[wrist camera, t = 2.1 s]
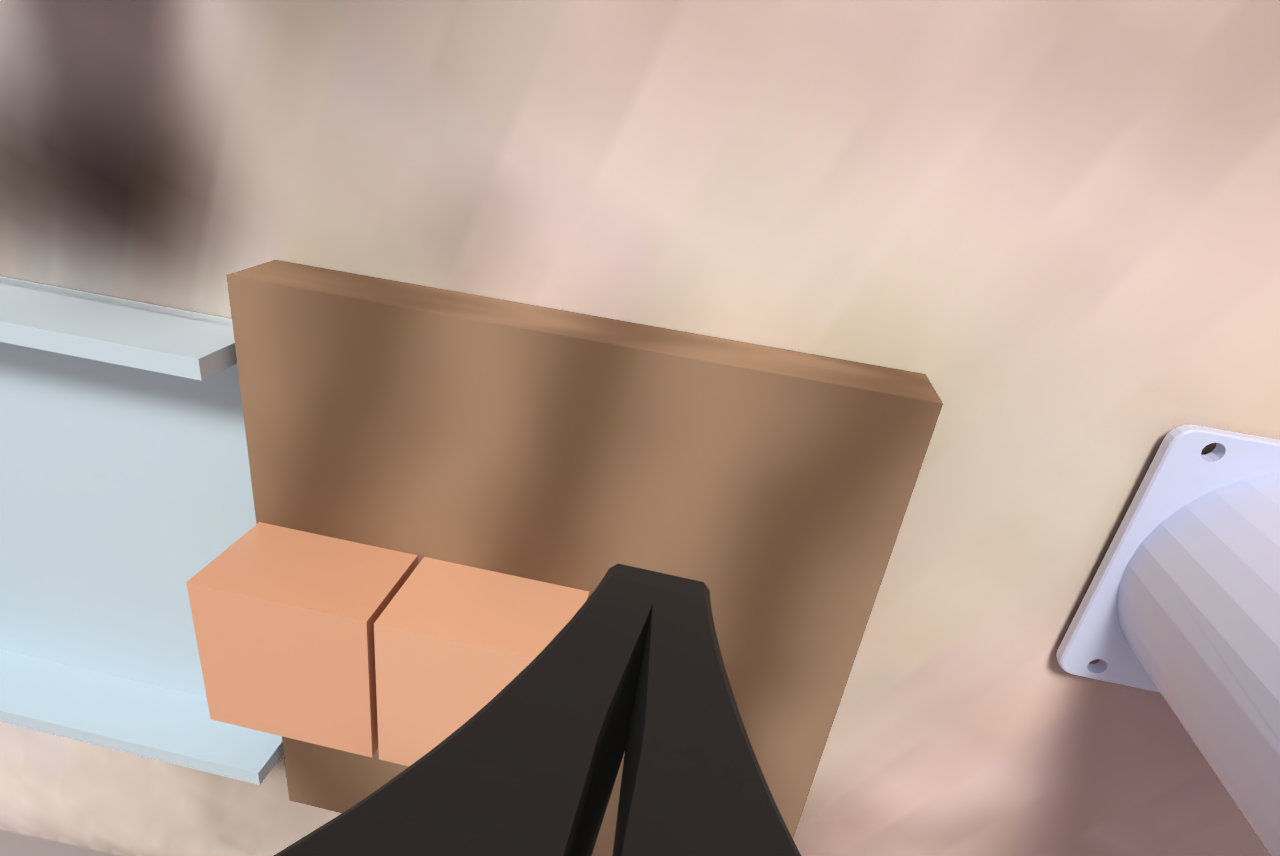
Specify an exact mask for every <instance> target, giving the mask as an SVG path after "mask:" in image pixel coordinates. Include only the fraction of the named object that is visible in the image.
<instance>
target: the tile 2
mask: <svg viewBox="0 0 1280 856" xmlns="http://www.w3.org/2000/svg"><path fill="white" fill-rule="evenodd" d="M588 598H589V591H584V590H579V589H575V588H570V587H565V586H560V585H556V584H551V583H546V582H541V581H537V580H532V579H527V578H522V577H518V576H513V575H508V574H503V573H499V572H494V571H489V570H484V569H480V568H475V567H470V566H465V565H461V564H456V563H451V562H446V561H442V560H437V559H432V558H427V557H424V558H423V559H422V560H421V562H420V563H419V564H418V566H417V567H416V568H415V570H414V571H413V572H412V574H411V575H410V576H409V578H408V579H407V580H406V582H405V583H404V584H403V586H402V587H401V588H400V590H399V591H398V592H397V593H396V595H395V596H394V597H393V599H392V600H391V601H390V603H389V604H388V605H387V607H386V608H385V609H384V611H383V612H382V613H381V615H380V616H379V617H378V619H377V620H376V621H375V623H374V643H375V669H376V696H377V722H378V749H379V759H380V760H384V761H388V762H392V763H396V764H401V765H405V766H411V765H412V764H413V763H415V762H416V761H417V760H419V759H420V758H421V757H423V756H424V755H426V754H427V753H428V752H429V751H431V750H432V749H433V748H435V747H436V746H437V745H438V744H440V743H441V742H442V741H443V740H445V739H446V738H447V737H448V736H450V735H451V734H452V733H453V732H455V731H456V730H457V729H458V728H460V727H461V726H462V725H463V724H464V723H465V722H467V721H468V720H469V719H470V718H471V717H473V716H474V715H475V714H476V713H477V712H478V711H479V710H481V709H482V708H483V707H484V706H485V705H486V704H488V703H489V702H490V701H491V700H492V699H493V698H494V697H495V696H496V695H497V694H498V693H499V692H501V691H502V690H503V689H504V688H505V687H506V686H507V685H508V684H509V683H510V682H511V681H512V680H513V679H514V678H515V677H516V676H517V675H518V674H519V673H520V672H521V671H523V670H524V669H525V668H526V667H527V666H528V665H529V664H530V663H531V662H532V661H533V660H534V659H535V658H536V657H537V656H538V655H539V654H540V653H541V652H542V651H543V650H544V648H545V647H546V646H547V645H548V644H549V643H550V642H551V641H552V640H553V639H554V638H555V636H556V635H557V634H558V633H559V632H560V631H561V630H562V629H563V628H564V627H565V626H566V624H567V623H568V622H569V621H570V620H571V619H572V618H573V616H574V615H575V614H576V613H577V612H578V610H579V609H580V608H581V607H582V606H583V604H584V603H585V602H586V601H587V599H588Z"/></svg>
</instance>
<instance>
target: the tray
mask: <svg viewBox="0 0 1280 856" xmlns="http://www.w3.org/2000/svg"><path fill="white" fill-rule="evenodd" d="M255 525H256V516H255V508H254V499H253V491H252V483H251V474H250V466H249V458H248V449H247V441H246V432H245V424H244V416H243V407H242V399H241V391H240V382H239V374H238V366H237V357H236V349H235V340H234V332H233V324H232V319H230V318H224V317H219V316H214V315H208V314H203V313H197V312H192V311H187V310H181V309H176V308H170V307H165V306H159V305H154V304H149V303H143V302H138V301H132V300H127V299H122V298H116V297H111V296H105V295H100V294H94V293H89V292H84V291H78V290H73V289H67V288H62V287H57V286H51V285H46V284H40V283H35V282H30V281H24V280H19V279H13V278H8V277H2V276H0V722H4V723H9V724H13V725H17V726H21V727H25V728H29V729H33V730H37V731H41V732H45V733H49V734H53V735H57V736H62V737H66V738H70V739H74V740H78V741H82V742H86V743H90V744H94V745H98V746H102V747H106V748H111V749H115V750H119V751H123V752H127V753H131V754H135V755H139V756H143V757H147V758H151V759H155V760H159V761H164V762H168V763H172V764H176V765H180V766H184V767H188V768H192V769H196V770H200V771H204V772H208V773H213V774H217V775H221V776H225V777H229V778H233V779H237V780H241V781H245V782H249V783H253V784H257V785H260V784H261V783H262V781H263V780H264V779H265V777H266V776H267V775H268V773H269V772H270V771H271V769H272V768H273V767H274V765H275V764H276V763H277V761H278V760H279V759H280V757H281V756H282V755H283V753H284V750H283V742H282V736H279V735H275V734H270V733H266V732H262V731H258V730H254V729H249V728H245V727H241V726H237V725H233V724H228V723H224V722H220V721H216V720H212V719H210V713H209V708H208V702H207V697H206V691H205V685H204V680H203V674H202V668H201V663H200V657H199V651H198V646H197V640H196V635H195V629H194V623H193V618H192V612H191V606H190V601H189V595H188V589H187V584H186V582H187V581H188V580H190V579H191V578H192V577H193V576H194V575H196V574H197V573H198V572H199V571H200V570H202V569H203V568H204V567H205V566H207V565H208V564H209V563H210V562H211V561H213V560H214V559H215V558H216V557H217V556H219V555H220V554H221V553H222V552H224V551H225V550H226V549H227V548H228V547H230V546H231V545H232V544H233V543H234V542H236V541H237V540H238V539H239V538H241V537H242V536H243V535H244V534H245V533H247V532H248V531H249V530H250V529H251V528H253V527H254V526H255Z"/></svg>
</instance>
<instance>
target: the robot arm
mask: <svg viewBox="0 0 1280 856" xmlns="http://www.w3.org/2000/svg"><path fill="white" fill-rule="evenodd" d="M1211 443H1216V447H1215V449H1214V450H1213V451H1212V452H1210V453H1208V454H1206V455H1201V452H1202V450H1203V448H1204V447H1205V446H1206V445H1209V444H1211ZM1056 658H1057V660H1058V662H1059V664H1060V666H1061V668H1062V669H1063V670H1064V671H1065V672H1067V673H1070V674H1072V675H1077V676H1082V677H1087V678H1092V679H1096V680H1101V681H1106V682H1111V683H1116V684H1120V685H1125V686H1130V687H1135V688H1140V689H1144V690H1149V691H1154V692H1159V693H1161V694H1162V696H1163V697H1164V698H1165V700H1166V701H1167V703H1168V704H1169V706H1170V707H1171V709H1172V710H1173V712H1174V713H1175V715H1176V716H1177V718H1178V719H1179V721H1180V722H1181V724H1182V725H1183V727H1184V728H1185V730H1186V731H1187V733H1188V734H1189V735H1190V737H1191V738H1192V740H1193V741H1194V743H1195V744H1196V746H1197V747H1198V749H1199V750H1200V752H1201V753H1202V755H1203V756H1204V758H1205V759H1206V761H1207V762H1208V764H1209V765H1210V767H1211V768H1212V769H1213V771H1214V772H1215V774H1216V775H1217V777H1218V778H1219V780H1220V781H1221V783H1222V784H1223V786H1224V787H1225V789H1226V790H1227V792H1228V793H1229V795H1230V796H1231V798H1232V799H1233V801H1234V802H1235V804H1236V805H1237V806H1238V808H1239V809H1240V811H1241V812H1242V814H1243V815H1244V817H1245V818H1246V820H1247V821H1248V823H1249V824H1250V826H1251V827H1252V829H1253V830H1254V832H1255V833H1256V835H1257V836H1258V838H1259V839H1260V840H1261V842H1262V843H1263V845H1264V846H1265V848H1266V849H1267V851H1268V852H1269V854H1270V855H1271V856H1280V440H1278V439H1272V438H1266V437H1261V436H1255V435H1249V434H1244V433H1238V432H1232V431H1227V430H1221V429H1215V428H1210V427H1204V426H1198V425H1182V426H1179V427H1176V428H1174V429H1173V430H1171V431H1170V432H1168V434H1167V435H1166V436H1165V438H1164V439H1163V441H1162V443H1161V445H1160V447H1159V449H1158V451H1157V453H1156V455H1155V457H1154V459H1153V461H1152V463H1151V465H1150V467H1149V469H1148V471H1147V473H1146V475H1145V477H1144V479H1143V481H1142V483H1141V485H1140V487H1139V489H1138V491H1137V493H1136V495H1135V497H1134V499H1133V501H1132V503H1131V505H1130V507H1129V509H1128V511H1127V513H1126V515H1125V517H1124V519H1123V521H1122V523H1121V525H1120V527H1119V529H1118V531H1117V533H1116V534H1115V536H1114V538H1113V540H1112V542H1111V544H1110V546H1109V548H1108V550H1107V552H1106V554H1105V556H1104V558H1103V560H1102V562H1101V564H1100V566H1099V568H1098V570H1097V572H1096V574H1095V576H1094V578H1093V580H1092V582H1091V584H1090V586H1089V588H1088V590H1087V592H1086V594H1085V596H1084V598H1083V600H1082V602H1081V604H1080V606H1079V608H1078V610H1077V612H1076V614H1075V616H1074V618H1073V620H1072V622H1071V624H1070V626H1069V628H1068V630H1067V632H1066V634H1065V636H1064V638H1063V640H1062V642H1061V644H1060V646H1059V648H1058V650H1057V653H1056ZM1095 659H1100V660H1099V661H1098V662H1097V663H1094V664H1089V663H1090V662H1091V661H1093V660H1095ZM624 752H625V754H624ZM623 755H624V762H623V771H622V779H621V787H620V796H619V804H618V812H617V821H616V829H615V838H614V846H613V855H612V856H801V855H800V853H799V851H798V849H797V847H796V845H795V843H794V841H793V839H792V836H791V834H790V832H789V830H788V828H787V826H786V824H785V822H784V820H783V818H782V816H781V814H780V812H779V809H778V807H777V805H776V803H775V801H774V798H773V796H772V794H771V792H770V789H769V787H768V785H767V782H766V780H765V778H764V775H763V773H762V771H761V768H760V766H759V763H758V761H757V758H756V755H755V753H754V750H753V748H752V745H751V743H750V740H749V738H748V735H747V732H746V730H745V727H744V724H743V721H742V719H741V716H740V713H739V710H738V707H737V704H736V701H735V698H734V694H733V691H732V688H731V685H730V682H729V679H728V676H727V673H726V669H725V666H724V662H723V659H722V655H721V651H720V647H719V643H718V639H717V635H716V630H715V625H714V620H713V615H712V608H711V600H710V590H709V589H708V587H707V586H706V584H705V583H704V582H701V581H696V580H692V579H687V578H683V577H678V576H673V575H669V574H664V573H660V572H655V571H650V570H646V569H641V568H637V567H632V566H628V565H623V564H616V565H614V566H613V567H611V568H609V569H608V571H607V573H606V574H605V576H604V578H603V579H602V581H601V582H600V583H599V585H598V586H597V588H596V589H595V590H594V592H593V593H592V594H591V596H590V597H589V598H588V599H587V601H586V602H585V603H584V604H583V606H582V607H581V608H580V609H579V610H578V612H577V613H576V614H575V615H574V616H573V618H572V619H571V620H570V621H569V622H568V623H567V624H566V626H565V627H564V628H563V629H562V630H561V631H560V632H559V633H558V634H557V635H556V636H555V638H554V639H553V640H552V641H551V642H550V643H549V644H548V645H547V646H546V647H545V648H544V650H543V651H542V652H541V653H540V654H539V655H538V656H537V657H536V658H535V659H534V660H533V661H532V662H531V663H530V664H529V665H528V666H527V667H526V668H525V669H524V670H523V671H521V672H520V673H519V674H518V675H517V676H516V677H515V678H514V679H513V680H512V681H511V682H510V683H509V684H508V685H507V686H506V687H505V688H504V689H503V690H502V691H501V692H499V693H498V694H497V695H496V696H495V697H494V698H493V699H492V700H491V701H490V702H489V703H488V704H486V705H485V706H484V707H483V708H482V709H481V710H479V711H478V712H477V713H476V714H475V715H474V716H473V717H471V718H470V719H469V720H468V721H467V722H465V723H464V724H463V725H462V726H461V727H460V728H458V729H457V730H456V731H455V732H453V733H452V734H451V735H450V736H448V737H447V738H446V739H445V740H443V741H442V742H441V743H440V744H438V745H437V746H436V747H435V748H433V749H432V750H431V751H429V752H428V753H427V754H426V755H424V756H423V757H421V758H420V759H419V760H417V761H416V762H415V763H413V764H412V765H411V766H409V767H408V768H406V769H405V770H404V771H402V772H401V773H400V774H398V775H397V776H395V777H394V778H393V779H391V780H390V781H389V782H387V783H386V784H384V785H383V786H382V787H380V788H379V789H378V790H376V791H375V792H373V793H372V794H370V795H369V796H367V797H366V798H364V799H363V800H362V801H360V802H359V803H357V804H356V805H354V806H353V807H351V808H350V809H348V810H347V811H345V812H344V813H342V814H341V815H339V816H337V817H336V818H334V819H333V820H331V821H329V822H328V823H326V824H324V825H323V826H321V827H320V828H318V829H316V830H315V831H313V832H311V833H310V834H308V835H307V836H305V837H303V838H302V839H300V840H299V841H297V842H295V843H294V844H292V845H290V846H289V847H287V848H286V849H284V850H282V851H281V852H279V853H277V854H276V855H274V856H592V853H593V850H594V847H595V844H596V840H597V837H598V834H599V831H600V828H601V825H602V822H603V818H604V815H605V812H606V809H607V806H608V803H609V799H610V796H611V793H612V790H613V787H614V784H615V781H616V777H617V774H618V771H619V768H620V765H621V762H622V758H623Z"/></svg>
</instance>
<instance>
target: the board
mask: <svg viewBox="0 0 1280 856" xmlns="http://www.w3.org/2000/svg"><path fill="white" fill-rule="evenodd" d="M227 282H228V290H229V299H230V307H231V315H232V324H233V332H234V340H235V349H236V357H237V366H238V374H239V382H240V391H241V399H242V407H243V416H244V424H245V432H246V441H247V449H248V458H249V466H250V474H251V483H252V491H253V499H254V508H255V516H256V524H257V523H259V522H261V523H266V524H271V525H276V526H280V527H285V528H290V529H295V530H299V531H304V532H309V533H314V534H318V535H323V536H328V537H333V538H337V539H342V540H347V541H352V542H356V543H361V544H366V545H371V546H375V547H380V548H385V549H390V550H394V551H399V552H404V553H408V554H413V555H418V564H419V563H420V562H421V560H422V559H423V558H424V557H427V558H432V559H437V560H442V561H446V562H451V563H456V564H461V565H465V566H470V567H475V568H480V569H484V570H489V571H494V572H499V573H503V574H508V575H513V576H518V577H522V578H527V579H532V580H537V581H541V582H546V583H551V584H556V585H560V586H565V587H570V588H575V589H579V590H584V591H589V597H590V596H591V594H592V593H593V592H594V590H595V589H596V588H597V586H598V585H599V583H600V582H601V581H602V579H603V578H604V576H605V574H606V573H607V571H608V569H609V568H611V567H613V566H614V565H616V564H623V565H628V566H632V567H637V568H641V569H646V570H650V571H655V572H660V573H664V574H669V575H673V576H678V577H683V578H687V579H692V580H696V581H701V582H704V583H705V584H706V586H707V587H708V589H709V590H710V600H711V608H712V615H713V620H714V625H715V630H716V635H717V639H718V643H719V647H720V651H721V655H722V659H723V662H724V666H725V669H726V673H727V676H728V679H729V682H730V685H731V688H732V691H733V694H734V698H735V701H736V704H737V707H738V710H739V713H740V716H741V719H742V721H743V724H744V727H745V730H746V732H747V735H748V738H749V740H750V743H751V745H752V748H753V750H754V753H755V755H756V758H757V761H758V763H759V766H760V768H761V771H762V773H763V775H764V778H765V780H766V782H767V785H768V787H769V789H770V792H771V794H772V796H773V798H774V801H775V803H776V805H777V807H778V809H779V812H780V814H781V816H782V818H783V820H784V822H785V824H786V826H787V828H788V830H789V832H790V834H791V836H792V839H793V837H794V834H795V831H796V828H797V825H798V822H799V820H800V817H801V814H802V811H803V808H804V805H805V802H806V799H807V796H808V793H809V791H810V788H811V785H812V782H813V779H814V776H815V773H816V770H817V767H818V764H819V762H820V759H821V756H822V753H823V750H824V747H825V744H826V741H827V738H828V735H829V733H830V730H831V727H832V724H833V721H834V718H835V715H836V712H837V709H838V706H839V704H840V701H841V698H842V695H843V692H844V689H845V686H846V683H847V680H848V677H849V675H850V672H851V669H852V666H853V663H854V660H855V657H856V654H857V651H858V648H859V646H860V643H861V640H862V637H863V634H864V631H865V628H866V625H867V622H868V619H869V616H870V614H871V611H872V608H873V605H874V602H875V599H876V596H877V593H878V590H879V587H880V585H881V582H882V579H883V576H884V573H885V570H886V567H887V564H888V561H889V558H890V556H891V553H892V550H893V547H894V544H895V541H896V538H897V535H898V532H899V529H900V527H901V524H902V521H903V518H904V515H905V512H906V509H907V506H908V503H909V500H910V498H911V495H912V492H913V489H914V486H915V483H916V480H917V477H918V474H919V471H920V469H921V466H922V463H923V460H924V457H925V454H926V451H927V448H928V445H929V442H930V440H931V437H932V434H933V431H934V428H935V425H936V422H937V419H938V416H939V413H940V411H941V408H942V405H943V403H942V401H941V399H940V398H939V396H938V395H937V393H936V391H935V390H934V388H933V386H932V385H931V383H930V381H929V380H928V378H927V376H926V375H925V374H920V373H915V372H909V371H903V370H898V369H892V368H886V367H881V366H875V365H869V364H864V363H858V362H852V361H846V360H841V359H835V358H829V357H824V356H818V355H812V354H807V353H801V352H795V351H790V350H784V349H778V348H773V347H767V346H761V345H756V344H750V343H744V342H738V341H733V340H727V339H721V338H716V337H710V336H704V335H699V334H693V333H687V332H682V331H676V330H670V329H665V328H659V327H653V326H648V325H642V324H636V323H631V322H625V321H619V320H613V319H608V318H602V317H596V316H591V315H585V314H579V313H574V312H568V311H562V310H557V309H551V308H545V307H540V306H534V305H528V304H523V303H517V302H511V301H505V300H500V299H494V298H488V297H483V296H477V295H471V294H466V293H460V292H454V291H449V290H443V289H437V288H432V287H426V286H420V285H415V284H409V283H403V282H398V281H392V280H386V279H380V278H375V277H369V276H363V275H358V274H352V273H346V272H341V271H335V270H329V269H324V268H318V267H312V266H307V265H301V264H295V263H290V262H284V261H278V260H273V261H270V262H267V263H264V264H261V265H258V266H254V267H251V268H248V269H245V270H242V271H239V272H235V273H232V274H229V275H227ZM282 742H283V750H284V759H285V767H286V776H287V784H288V792H289V800H291V801H295V802H299V803H303V804H307V805H311V806H315V807H319V808H323V809H327V810H331V811H335V812H339V813H344V812H345V811H347V810H348V809H350V808H351V807H353V806H354V805H356V804H357V803H359V802H360V801H362V800H363V799H364V798H366V797H367V796H369V795H370V794H372V793H373V792H375V791H376V790H378V789H379V788H380V787H382V786H383V785H384V784H386V783H387V782H389V781H390V780H391V779H393V778H394V777H395V776H397V775H398V774H400V773H401V772H402V771H404V770H405V769H406V768H408V767H409V766H405V765H401V764H396V763H392V762H388V761H384V760H380V759H379V749H377V751H376V752H375V754H374V756H373V757H372V758H371V757H367V756H363V755H359V754H354V753H350V752H346V751H342V750H338V749H333V748H329V747H325V746H321V745H317V744H312V743H308V742H304V741H300V740H296V739H291V738H287V737H283V736H282ZM624 754H625V752H624ZM623 762H624V755H623V758H622V762H621V765H620V768H619V771H618V774H617V777H616V781H615V784H614V787H613V790H612V793H611V796H610V799H609V803H608V806H607V809H606V812H605V815H604V818H603V822H602V825H601V828H600V831H599V834H598V837H597V840H596V844H595V847H594V850H593V853H592V856H612V855H613V846H614V838H615V829H616V821H617V812H618V804H619V796H620V787H621V779H622V771H623Z"/></svg>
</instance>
